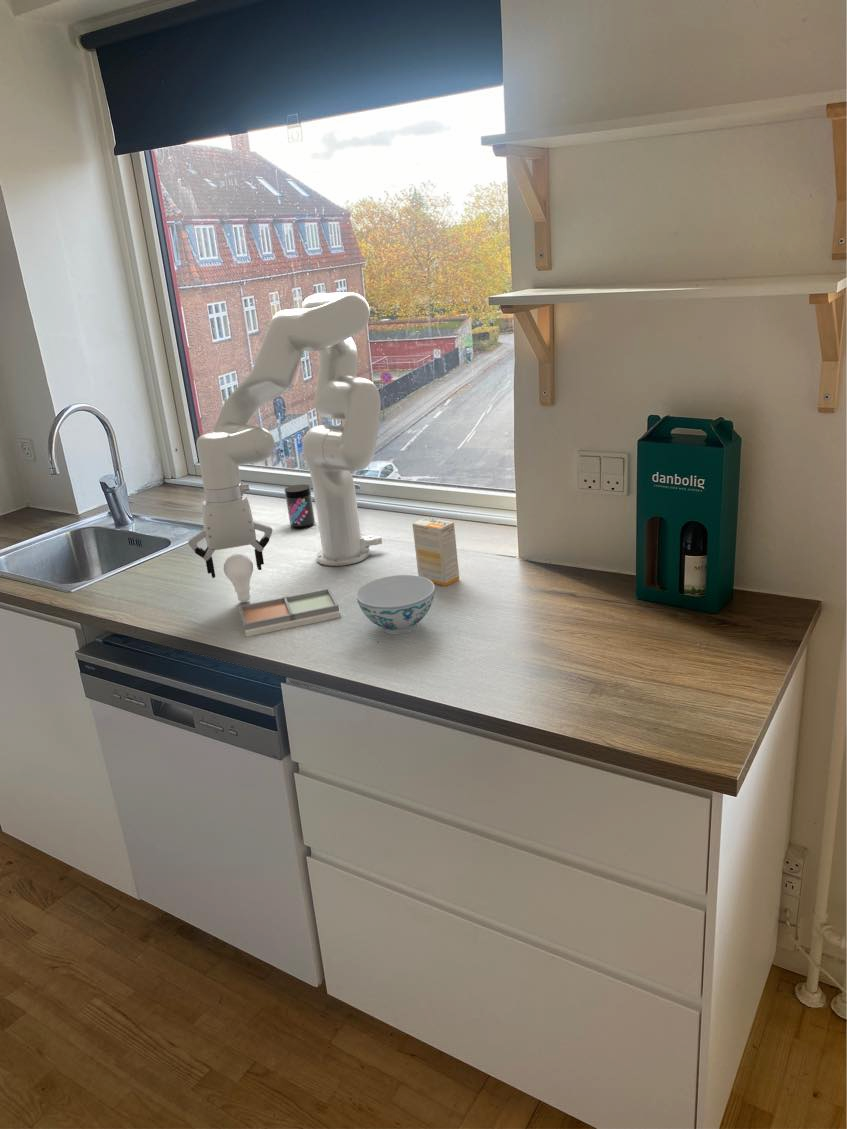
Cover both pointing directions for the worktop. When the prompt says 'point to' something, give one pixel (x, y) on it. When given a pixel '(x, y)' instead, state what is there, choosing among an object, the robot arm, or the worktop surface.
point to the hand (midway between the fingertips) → (236, 571)
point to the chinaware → (396, 601)
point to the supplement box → (436, 550)
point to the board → (289, 612)
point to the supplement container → (300, 506)
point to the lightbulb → (239, 574)
